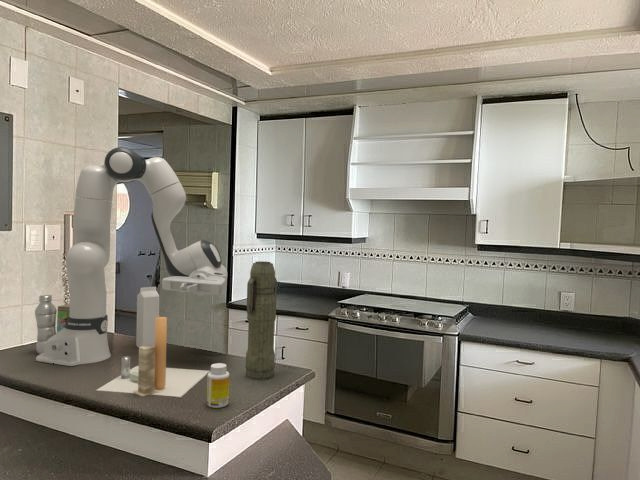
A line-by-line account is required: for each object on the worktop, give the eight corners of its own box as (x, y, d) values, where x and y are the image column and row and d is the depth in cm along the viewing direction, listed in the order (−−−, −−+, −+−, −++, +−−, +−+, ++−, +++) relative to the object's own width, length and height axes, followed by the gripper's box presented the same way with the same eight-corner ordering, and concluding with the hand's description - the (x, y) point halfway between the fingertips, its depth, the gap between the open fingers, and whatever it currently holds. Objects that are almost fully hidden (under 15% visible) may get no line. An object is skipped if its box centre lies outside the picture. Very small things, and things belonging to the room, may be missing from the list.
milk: (158, 347, 176) (160, 287, 175) (142, 349, 172) (143, 288, 171) (151, 343, 180) (153, 285, 179) (135, 346, 176) (137, 286, 175)
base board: (95, 391, 130) (95, 390, 130) (136, 366, 152) (137, 365, 152) (180, 397, 127) (180, 396, 127) (209, 371, 149) (209, 370, 149)
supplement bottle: (233, 404, 123) (234, 365, 123) (215, 410, 119) (216, 370, 119) (220, 398, 127) (221, 360, 127) (202, 404, 123) (203, 365, 123)
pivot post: (119, 378, 139) (119, 358, 139) (123, 376, 142) (124, 356, 142) (127, 379, 139) (127, 358, 139) (131, 376, 142) (131, 356, 141)
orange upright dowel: (127, 379, 138) (128, 313, 137) (136, 376, 140) (137, 311, 139) (159, 389, 130) (160, 319, 130) (167, 386, 133) (169, 317, 132)
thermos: (282, 372, 151) (285, 261, 149) (260, 383, 140) (264, 264, 139) (259, 367, 155) (262, 260, 153) (236, 377, 144) (239, 262, 143)
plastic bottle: (62, 352, 165) (60, 294, 165) (43, 357, 159) (41, 296, 159) (50, 351, 168) (49, 294, 168) (31, 355, 162) (29, 296, 162)
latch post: (142, 398, 126) (143, 350, 125) (132, 393, 129) (133, 347, 129) (159, 393, 130) (160, 347, 129) (149, 388, 133) (150, 343, 132)
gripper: (173, 270, 162) (152, 276, 148) (230, 275, 159) (215, 282, 145) (172, 288, 163) (152, 296, 149) (230, 293, 160) (214, 302, 146)
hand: (184, 289), depth 147 cm, fingers closed
